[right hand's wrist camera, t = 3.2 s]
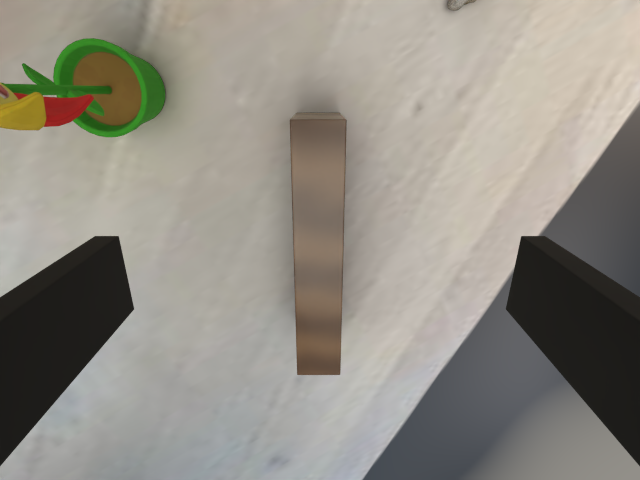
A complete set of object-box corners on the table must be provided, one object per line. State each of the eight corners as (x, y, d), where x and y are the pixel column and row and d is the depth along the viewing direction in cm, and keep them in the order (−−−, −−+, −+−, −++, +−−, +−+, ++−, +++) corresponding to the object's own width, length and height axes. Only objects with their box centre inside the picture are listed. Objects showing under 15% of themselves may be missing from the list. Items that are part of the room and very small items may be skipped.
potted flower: (193, 85, 38) (-6, 77, 15) (156, 148, 40) (-67, 227, 17) (106, 20, 36) (-286, -109, 13) (72, 90, 38) (-312, 91, 15)
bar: (296, 112, 39) (289, 119, 30) (340, 112, 39) (346, 119, 30) (301, 323, 49) (297, 375, 40) (336, 323, 49) (340, 375, 40)
